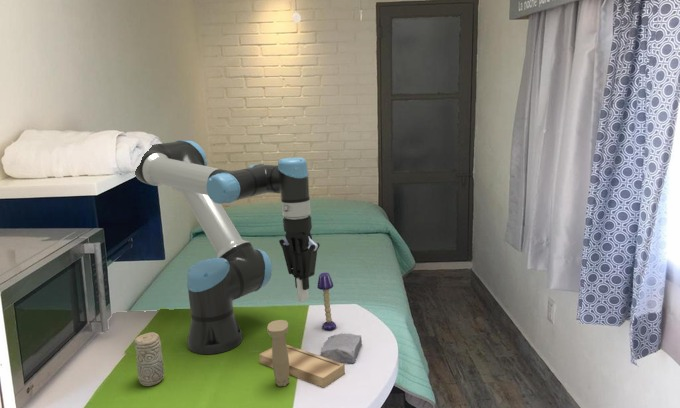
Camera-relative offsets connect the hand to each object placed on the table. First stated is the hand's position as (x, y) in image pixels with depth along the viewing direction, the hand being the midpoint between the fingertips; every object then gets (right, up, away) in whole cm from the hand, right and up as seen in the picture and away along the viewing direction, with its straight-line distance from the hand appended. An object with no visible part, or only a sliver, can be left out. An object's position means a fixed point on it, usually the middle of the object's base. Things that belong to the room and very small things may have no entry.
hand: (303, 299), depth 153 cm
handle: (-4, -17, -19) cm, 26 cm away
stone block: (+10, -14, -4) cm, 18 cm away
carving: (-37, -18, -14) cm, 43 cm away
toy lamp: (+7, -10, +12) cm, 17 cm away
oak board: (0, -15, -12) cm, 19 cm away
